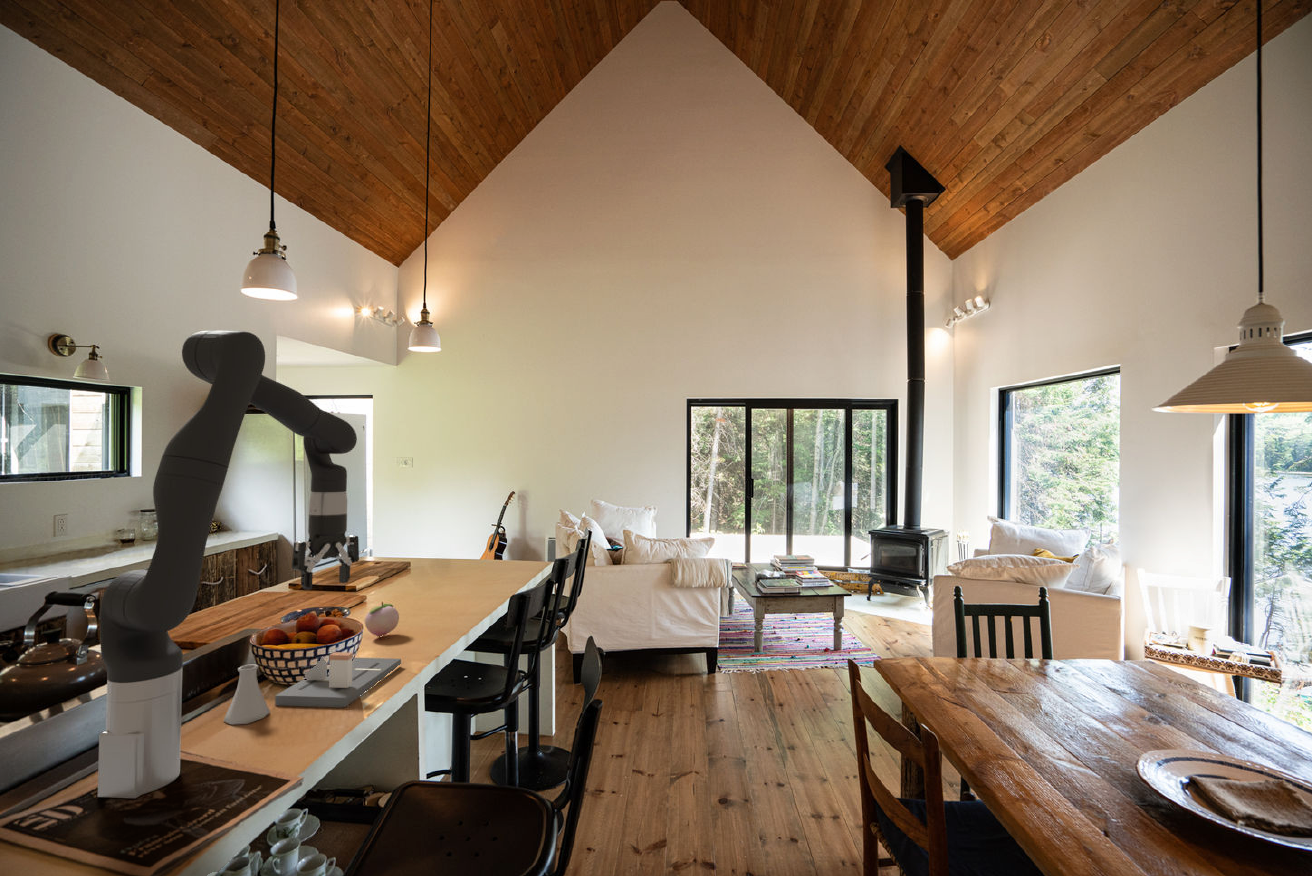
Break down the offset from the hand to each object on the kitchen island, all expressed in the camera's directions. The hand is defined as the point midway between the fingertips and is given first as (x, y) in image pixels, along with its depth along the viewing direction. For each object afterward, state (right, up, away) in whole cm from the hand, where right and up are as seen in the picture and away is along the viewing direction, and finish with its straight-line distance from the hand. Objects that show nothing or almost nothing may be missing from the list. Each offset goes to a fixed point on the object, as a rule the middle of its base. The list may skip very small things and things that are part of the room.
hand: (326, 585), depth 136 cm
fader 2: (+5, -20, -4) cm, 22 cm away
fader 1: (-2, -20, 0) cm, 21 cm away
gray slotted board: (+2, -23, +3) cm, 23 cm away
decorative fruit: (-4, -24, +38) cm, 45 cm away
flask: (-8, -23, -15) cm, 28 cm away
